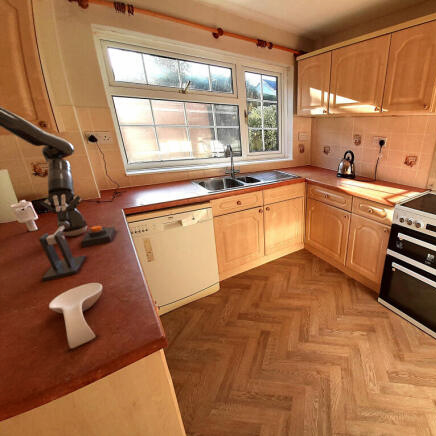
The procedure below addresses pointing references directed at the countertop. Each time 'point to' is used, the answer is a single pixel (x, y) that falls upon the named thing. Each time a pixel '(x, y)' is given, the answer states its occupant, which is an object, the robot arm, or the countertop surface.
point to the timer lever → (62, 226)
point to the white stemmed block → (25, 214)
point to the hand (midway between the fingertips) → (63, 221)
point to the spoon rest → (77, 311)
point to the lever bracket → (59, 266)
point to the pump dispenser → (75, 224)
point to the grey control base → (98, 236)
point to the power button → (96, 228)
